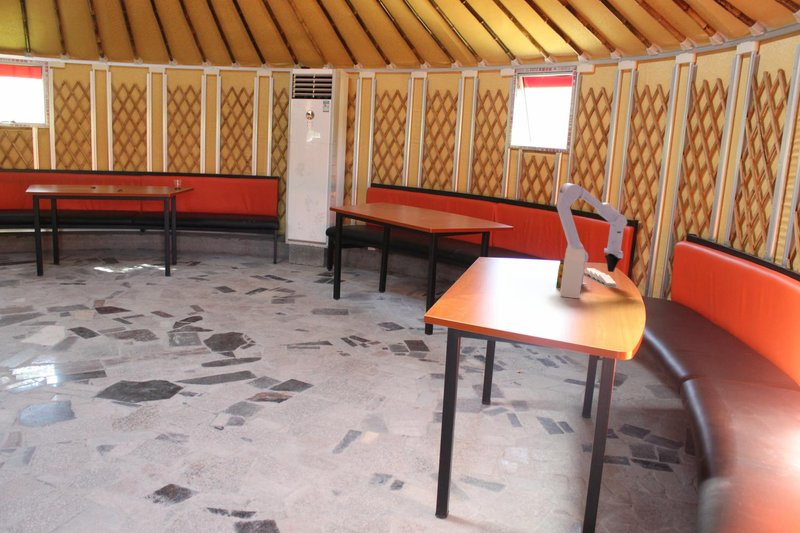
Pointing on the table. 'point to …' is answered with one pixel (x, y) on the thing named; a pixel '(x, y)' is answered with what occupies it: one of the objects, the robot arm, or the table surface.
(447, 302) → the table surface
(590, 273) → the tile
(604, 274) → the tile
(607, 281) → the tile
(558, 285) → the crayon box
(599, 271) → the tile
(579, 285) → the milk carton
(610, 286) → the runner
